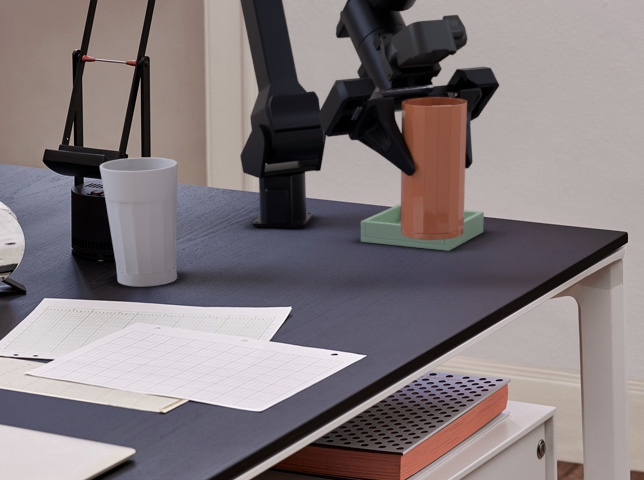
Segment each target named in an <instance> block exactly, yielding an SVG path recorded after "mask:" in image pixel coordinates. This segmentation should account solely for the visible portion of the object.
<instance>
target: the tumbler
mask: <svg viewBox="0 0 644 480" xmlns="http://www.w3.org/2000/svg"><path fill="white" fill-rule="evenodd" d="M401 134H402V136H403V138H404V140H405V142H406V145H407V147H408V149H409V151H410V154H411V156H412V159H413V162H414V165H415V169H416V170H415V172H414V174H413V175H412V176H408V175H407V174H405V173H404V172H403V171H401V170H400V205H401V234H402V235H404V236H406V237H409V238H414V239H422V240H442V239H450V238H455V237H458V236H461V235H462V234H463V227H464V210H465V198H466V194H465V193H466V170H467V168H466V135H467V101H466V100H464V99H459V98H451V97H420V98H412V99H407V100H404V101H403V102H402V111H401Z"/></svg>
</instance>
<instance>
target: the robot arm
mask: <svg viewBox="0 0 644 480" xmlns="http://www.w3.org/2000/svg"><path fill="white" fill-rule="evenodd" d="M416 2H417V0H346V2H345V4H344V6H343V8H342V10H341V11H340V12H339V20H338V22H337V24H336V27H335V37H336V38H337V39H348V38H349V39H350V42H351V43H352V45H353V48H354V50H355V52H356V54H357V57H358V59H359V62H360V65H359V68H358V69H357V71H356V73H357V75H358V77H356V78H355V77H354V78H345V79H344V78H343V79H335V81H334V83H333V84H332V86H331V88H330V90H329V92H328V95H327V96H326V98H325V100H324V102H323V104H322V105H321V107H320V98H319V96H318V95H317V93H316V91H307V89H306V88H304V87H303V85H302V84H301V83H300V81H299V78H298V73H297V68H296V64H295V63H296V62H295V57H294V53H293V48H292V44H291V43H292V42H291V38H290V33H289V28H288V23H287V17H286V13H285V7H284V2H283V0H240V7H241V10H242V11H241V12H242V16H243V21H244V27H245V29H246V30H245V31H246V36H247V40H248V45H249V51H250V55H251V61H252V66H253V71H254V75H255V76H254V77H255V81H256V85H257V92H258V93H257V97H256V99H255V101H254V105H253V107H252V110H251V114H250V115H249V116H250V118H249V120H250V127H251V131H250V132H249V133H250V134H249V136H248V138H247V139H246V142H245V144H244V146H243V148H242V151H241V153H240V162H241V169H242V173H243V174H245V175H249V176H252V177H254V178H257V179H258V196H259V215H258V216H257V218H255V219H254V220H253V222H252V227H255V228H257V227H259V228H305V227H306V226H307V225H308V223H310V221H311V220H312V219H313V218H314V213H313V212H307V187H306V186H307V183H306V172H307V173H308V172H314V171H315V172H321V170H322V165H323V159H324V153H325V148H326V140H327V138H330V137H337V136H348V138H349V139H350V140H351V141H358V142H359V143H361V144H363V145H364V146H366V147H368V149H371V150H372V151H374V152H376V153H377V154H378V155H380V156H381V157H383V158H384V159H385V160H386V161H388V162H389V163H391V164H392V165H393V166H395V167H396V168H397V169H398V170H400V172H401V171H403V172H404V173H405V174H407V175H408V176H412V175H413V174H414V172H415V170H416V169H415V165H414V162H413V159H412V156H411V154H410V151H409V149H408V147H407V145H406V142H405V140H404V138H403V136H402V134H401V133H402V130H401V129H400V127H399V124H398V123H397V120H396V113H398V112H402V102H403V101H404V100H407V99H412V98H420V97H451V98H459V99H464V100H466V101H467V135H466V169H469V168H470V167H471V166H472V164H473V147H472V144H473V143H472V129H471V128H472V127H471V123H472V121H474V120H475V119H478V118H479V117H480V116H481V113H482V112H483V111H484V109H485V108H486V107H487V105H488V103H489V102H490V100H491V99H492V98H493V96H494V94H495V93H496V91H497V90H498V89H499V87H500V83H499V80H498V79H497V77H496V74H495V73H494V71H493V69H492V68H491V67H487V66H476V67H464V68H456V69H455V71H454V72H453V74H452V76H451V77H450V79H449V80H448V82H447V83H446V84H442V85H433V84H434V83H433V81H432V80H433V78H437V77H438V76H439V74H440V73H441V71H442V66H441V64H440V63H441V62H442V61H444V60H445V59H447V58H448V57H450V56H454V55H455V54H457V52H459V50H461V49H463V48H464V47H465V46H466V45H467V43H468V35H467V30H466V27H465V25H464V23H463V21H462V19H461V18H460V16H459V15H458V14H449V15H443V16H442V19H431V20H417V21H414V22H411V23H408V25H407V24H406V22H405V19H404V18H403V16H402V12H405V11H408V10H410V9H411V8H412V7H413V6H414V5H415V3H416Z"/></svg>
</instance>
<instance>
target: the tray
mask: <svg viewBox="0 0 644 480" xmlns="http://www.w3.org/2000/svg"><path fill="white" fill-rule="evenodd" d="M484 217H485V212H484V211H475V210H465V209H464V227H463V234H462V235H461V236H458V237H455V238H450V239H442V240H422V239H414V238H409V237H406V236H404V235H402V234H401V204H397V205H394V206H391V207H390V208H387V209H385V210H383V211H380V212H379V213H377V214H374V215H372V216H370V217H367V218H364V219H363V220H361V221H360V242H361V243H369V244H377V245H378V244H379V245H380V244H381V245H389V246H398V247H399V246H400V247H407V248H418V249H426V250H436V251H446V252H450V251H451V250H453V249H455V248H457V247H458V246H461V245H462V244H464V243H466V242H468V241H469V240H471V239H473V238H475V237H477V236H478V235H481V234H482V233H484Z"/></svg>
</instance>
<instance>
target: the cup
mask: <svg viewBox="0 0 644 480" xmlns="http://www.w3.org/2000/svg"><path fill="white" fill-rule="evenodd" d="M99 172H100V176H101V182H102V187H103V194H104V198H105V199H104V200H105V204H106V211H107V217H108V223H109V224H108V225H109V229H110V236H111V243H112V248H113V254H114V261H115V267H116V278H117V282H118V283H119V284H121V285H123V286H129V287H138V288H139V287H141V288H142V287H143V288H144V287H156V286H162V285H166V284H170V283H173V282H175V281H176V280H177V279H178V272H177V271H178V270H177V236H178V235H177V234H178V233H177V228H178V226H177V224H178V221H177V219H178V218H177V217H178V214H177V213H178V211H177V210H178V162H177V160H175V159H170V158H165V157H150V156H149V157H148V156H147V157H145V156H144V157H128V158H119V159H113V160H108V161H105V162H103V163H101V164H100V165H99Z"/></svg>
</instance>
